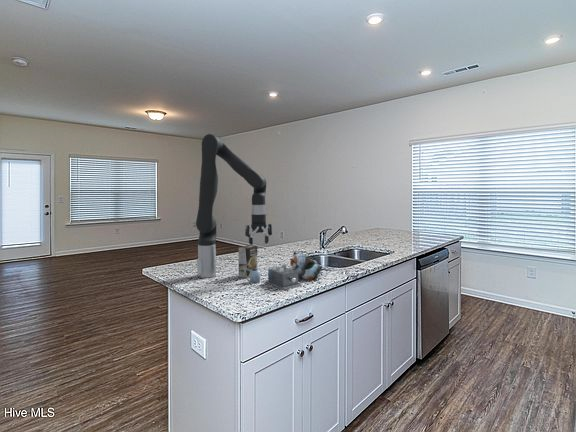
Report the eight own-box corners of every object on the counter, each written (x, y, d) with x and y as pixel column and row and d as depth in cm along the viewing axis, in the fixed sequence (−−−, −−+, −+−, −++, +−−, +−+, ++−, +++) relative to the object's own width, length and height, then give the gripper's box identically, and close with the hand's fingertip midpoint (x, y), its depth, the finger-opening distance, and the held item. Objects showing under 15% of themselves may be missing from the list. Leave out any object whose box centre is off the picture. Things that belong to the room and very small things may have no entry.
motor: (285, 290, 151) (285, 271, 150) (265, 282, 164) (265, 264, 163) (303, 286, 157) (303, 268, 156) (283, 278, 171) (283, 261, 170)
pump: (253, 283, 162) (253, 269, 162) (248, 281, 166) (248, 267, 166) (261, 281, 165) (261, 268, 165) (256, 279, 169) (256, 266, 169)
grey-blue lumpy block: (317, 282, 164) (302, 256, 161) (295, 288, 170) (281, 264, 168) (325, 266, 178) (312, 241, 176) (305, 272, 185) (292, 249, 182)
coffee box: (247, 278, 172) (247, 248, 170) (238, 276, 175) (237, 247, 174) (258, 274, 179) (257, 245, 178) (248, 272, 183) (248, 244, 181)
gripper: (248, 214, 163) (248, 246, 164) (274, 213, 170) (274, 244, 171) (243, 213, 169) (243, 244, 171) (267, 212, 176) (268, 242, 178)
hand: (258, 244), depth 171 cm, fingers open, 8 cm apart
